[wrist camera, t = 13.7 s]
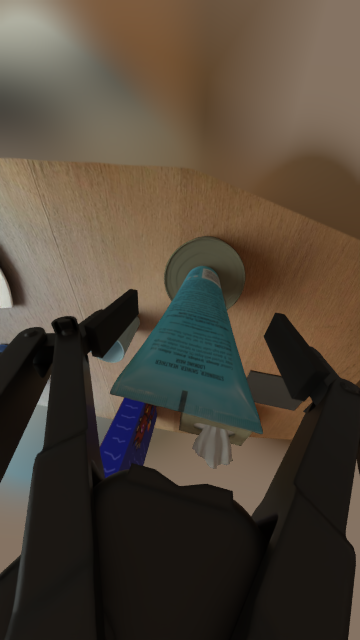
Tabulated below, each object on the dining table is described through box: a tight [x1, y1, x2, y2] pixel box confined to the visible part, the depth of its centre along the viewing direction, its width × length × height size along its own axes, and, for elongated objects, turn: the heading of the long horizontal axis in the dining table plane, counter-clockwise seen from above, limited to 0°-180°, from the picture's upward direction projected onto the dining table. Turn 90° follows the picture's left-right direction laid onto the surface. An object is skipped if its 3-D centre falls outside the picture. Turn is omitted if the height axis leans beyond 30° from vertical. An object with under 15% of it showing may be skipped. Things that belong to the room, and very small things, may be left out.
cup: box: [90, 316, 140, 363], centre depth 34 cm, size 8×8×10 cm
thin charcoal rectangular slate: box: [247, 371, 302, 411], centre depth 42 cm, size 16×12×1 cm
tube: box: [110, 266, 263, 434], centre depth 15 cm, size 7×5×19 cm, turn 86°
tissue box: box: [179, 412, 253, 469], centre depth 43 cm, size 19×10×16 cm, turn 82°
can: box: [164, 236, 245, 310], centre depth 26 cm, size 12×12×7 cm
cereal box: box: [100, 397, 157, 478], centre depth 42 cm, size 22×6×30 cm, turn 179°
